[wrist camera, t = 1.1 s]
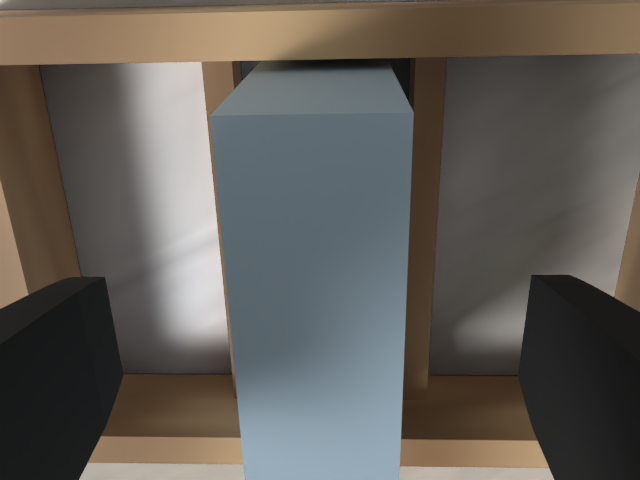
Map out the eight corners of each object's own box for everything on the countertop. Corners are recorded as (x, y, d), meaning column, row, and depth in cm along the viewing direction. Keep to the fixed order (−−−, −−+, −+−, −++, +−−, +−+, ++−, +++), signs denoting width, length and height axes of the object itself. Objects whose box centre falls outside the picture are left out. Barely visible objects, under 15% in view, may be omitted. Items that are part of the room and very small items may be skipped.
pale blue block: (383, 51, 13) (413, 112, 7) (378, 366, 16) (395, 569, 11) (266, 54, 13) (209, 116, 8) (283, 366, 16) (253, 568, 11)
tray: (964, -12, 12) (1104, -8, 10) (809, 402, 16) (883, 471, 14) (-11, 10, 13) (-85, 19, 11) (77, 397, 17) (36, 462, 15)
